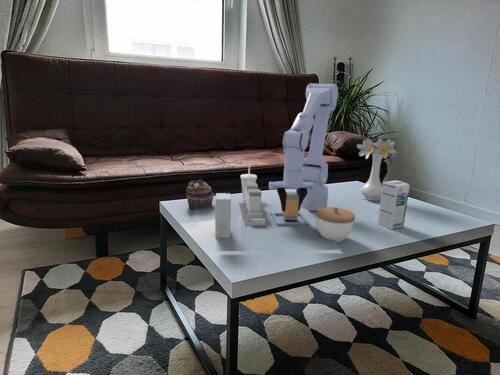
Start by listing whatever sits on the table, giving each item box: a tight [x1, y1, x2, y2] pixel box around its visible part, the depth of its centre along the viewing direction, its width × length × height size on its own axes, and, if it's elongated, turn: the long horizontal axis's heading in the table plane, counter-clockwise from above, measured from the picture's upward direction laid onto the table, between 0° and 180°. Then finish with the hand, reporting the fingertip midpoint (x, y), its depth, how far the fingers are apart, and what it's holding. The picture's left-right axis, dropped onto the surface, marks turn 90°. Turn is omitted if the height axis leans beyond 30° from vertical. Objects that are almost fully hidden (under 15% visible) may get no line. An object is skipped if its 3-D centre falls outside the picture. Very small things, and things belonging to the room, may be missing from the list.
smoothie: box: [240, 163, 258, 200], centre depth 132 cm, size 6×6×14 cm
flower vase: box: [356, 137, 399, 202], centre depth 139 cm, size 13×18×25 cm
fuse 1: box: [245, 182, 259, 206], centre depth 122 cm, size 4×4×8 cm
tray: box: [271, 212, 310, 227], centre depth 111 cm, size 10×10×2 cm
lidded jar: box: [315, 206, 356, 243], centre depth 99 cm, size 11×11×9 cm
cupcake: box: [185, 178, 215, 211], centre depth 121 cm, size 10×10×10 cm
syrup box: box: [377, 180, 411, 230], centre depth 111 cm, size 6×6×14 cm
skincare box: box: [214, 192, 232, 239], centre depth 97 cm, size 6×4×12 cm
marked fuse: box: [281, 191, 299, 221], centre depth 110 cm, size 4×4×8 cm
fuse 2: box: [247, 188, 262, 213], centre depth 115 cm, size 4×4×8 cm
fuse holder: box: [238, 198, 272, 227], centre depth 116 cm, size 8×23×3 cm, turn 7°
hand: (290, 210), depth 111 cm, fingers closed on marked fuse, 4 cm apart
